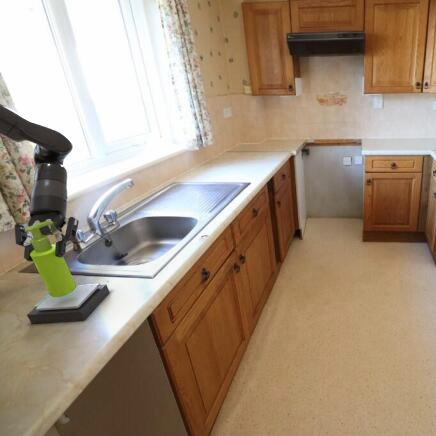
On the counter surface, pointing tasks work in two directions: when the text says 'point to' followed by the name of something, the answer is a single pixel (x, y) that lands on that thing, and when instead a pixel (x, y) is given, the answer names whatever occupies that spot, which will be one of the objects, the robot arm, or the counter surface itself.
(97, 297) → the kitchen scale
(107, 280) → the counter surface
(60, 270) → the soap dispenser
